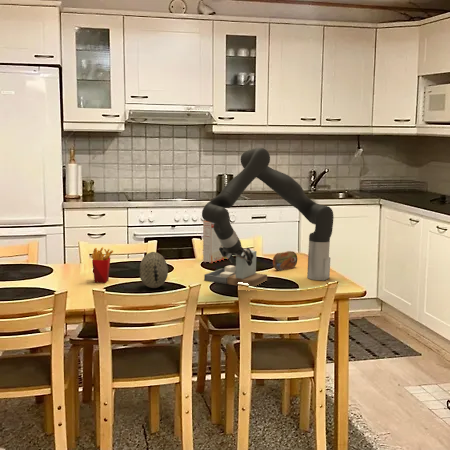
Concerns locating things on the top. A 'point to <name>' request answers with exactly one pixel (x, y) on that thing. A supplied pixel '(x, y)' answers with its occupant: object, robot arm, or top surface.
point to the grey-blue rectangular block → (245, 267)
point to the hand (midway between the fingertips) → (241, 262)
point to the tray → (216, 276)
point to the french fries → (101, 265)
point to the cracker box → (211, 244)
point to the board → (248, 279)
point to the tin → (285, 260)
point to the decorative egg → (153, 270)
